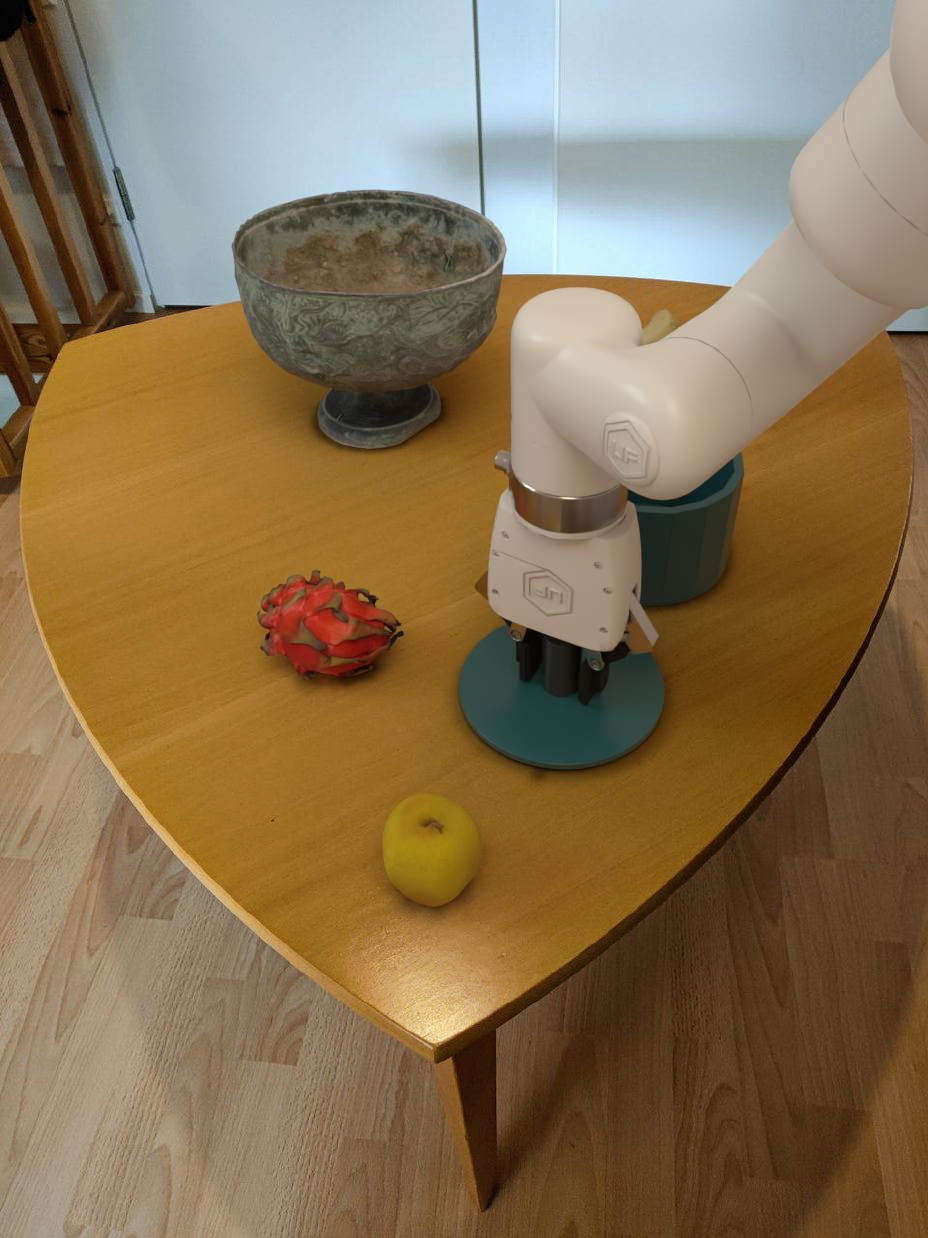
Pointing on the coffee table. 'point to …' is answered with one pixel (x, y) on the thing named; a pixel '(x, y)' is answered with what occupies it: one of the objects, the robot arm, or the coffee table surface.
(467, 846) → the apple
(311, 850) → the coffee table surface
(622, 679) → the lid
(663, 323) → the fruit
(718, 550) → the pot
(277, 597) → the dragon fruit
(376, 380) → the decorative bowl
